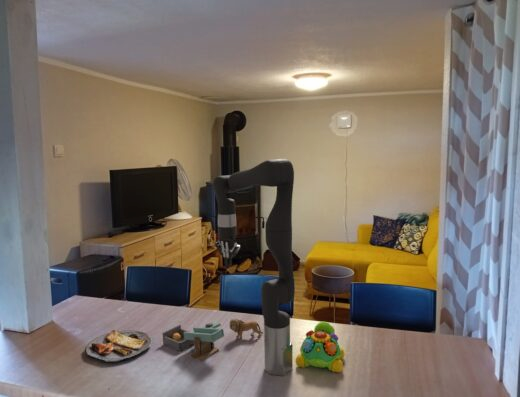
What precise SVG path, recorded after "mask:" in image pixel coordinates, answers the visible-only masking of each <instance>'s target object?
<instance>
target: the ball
mask: <svg viewBox="0 0 520 397" xmlns="http://www.w3.org/2000/svg"><path fill="white" fill-rule="evenodd" d="M173 340H176V341H179V340H180V334H178V333H175V334H174V335H173Z"/></svg>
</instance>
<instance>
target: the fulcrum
mask: <svg viewBox="0 0 520 397" xmlns="http://www.w3.org/2000/svg"><path fill="white" fill-rule="evenodd" d="M214 343H215V342H205V341H200V338H197V337H194V346H193V347H194V352H192V353H191V354H189V358H192V359H194V360H197V361H198V362H202V361H204V360H206V359H209V357H212V355H214V354H215V353H218V352H220V348H218V347H215V344H214Z"/></svg>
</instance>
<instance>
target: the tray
mask: <svg viewBox="0 0 520 397" xmlns="http://www.w3.org/2000/svg"><path fill="white" fill-rule="evenodd" d="M184 332H190V331H188V330H186V329H184V328H182V325H181V324H179V325H176V326H174V327H172V328H170V329H168V330H166V331H164V332H162V344H163V345H164V346H165V347H166V346H167V347H169V348H170V349H173V350H175V351H177V352H183V351H184V350H186V349H188V348H190V347H191V346H193V345H194V340H185V338H184ZM175 333H178V334H180V340H179V341H176V340H173V335H174V334H175Z"/></svg>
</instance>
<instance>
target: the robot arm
mask: <svg viewBox="0 0 520 397" xmlns="http://www.w3.org/2000/svg"><path fill="white" fill-rule="evenodd" d="M294 181H295V169H294V165H293V163H292V162H291V161H290V160H289V159H287V158H277V159H266V160H264V161H262V162H260V163H259V164H257V165H256V166H254V167H251V168H249V169H244V170H240V171H237V172H234V173H232V174H229V175H228V174H227V175H217V176H216V177H214V179H213V181H212V189H213V191H214V195H215V199H216V202H217V236H218V237H219V238H218V240H217V241H216V242H215V243H214V246H215V248H216V249H217V251H218V252H219V254H220V256H223V259H224V266H225V267H228V268H229V267H231V266H232V264H233V258H234V257H236V256H237V254H238V253H239V251H240V250H241V248H242V246H241V244H238V243H237V239H236V237H237V232H238V231H237V215H236V201H235V199H232V198H227V195H226V194H229V193H236V192H239V191H244V190H248V189H252V188H253V187H254V186H255V187H256V186H257V187H258V186H261V187H271V188H276V196H275V201H274V204H273V206H272V208H271V210H270V212H269V215H268V217H267V218H266V222H265V227H264V228H265V243H266V246H267V248H268V250H269V253H271V255H272V257H273V258H274V260H275V261H276V264H277V267H278V268H277V269H278V278H273V279H270V280H266V281H264V282H263V283H262V286H261V288H260V292H261V308H262V309H261V312H262V316H263V328H264V329H263V334H264V335H263V336H264V337H263V338H264V340H263V341H264V342H263V343H264V345H263V347H264V351H263V352H264V370H265V372H267V373H268V374H269V375H273V376H281V377H284V376H285V375H286V374H288V373H289V372H290V371H292V370H293V368H294V367H293V362H294V360H293V343H291V317H290V316H291V315H289V314H288V313H287V312H285V311H283V310H279V306H283V305H286V304H287V305H288V304H290V303H292V302H293V301H294V298H295V294H296V293H295V292H296V288H295V279H294V278H295V276H294V269H293V268H294V266H293V224H292V220H293V219H292V218H293V214H292V213H293V212H292V211H293V195H294V194H293V193H294V192H293V191H294Z"/></svg>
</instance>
